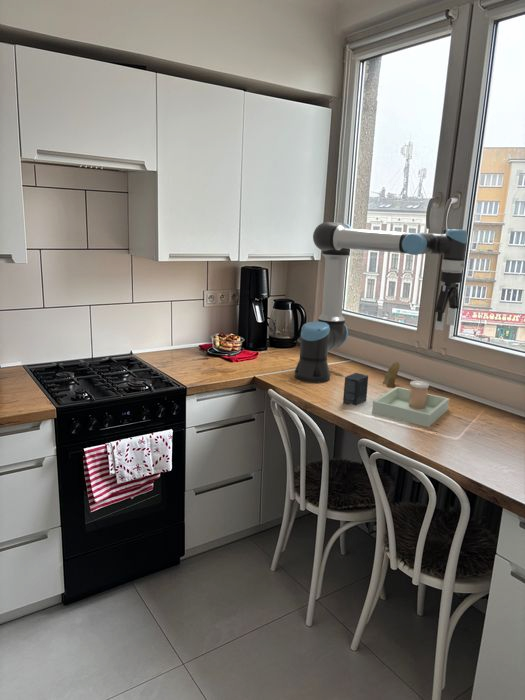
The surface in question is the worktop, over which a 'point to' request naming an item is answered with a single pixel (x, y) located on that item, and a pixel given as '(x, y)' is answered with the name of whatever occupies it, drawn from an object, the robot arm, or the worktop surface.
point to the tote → (398, 407)
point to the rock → (391, 375)
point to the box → (355, 389)
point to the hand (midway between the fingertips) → (444, 327)
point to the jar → (418, 394)
